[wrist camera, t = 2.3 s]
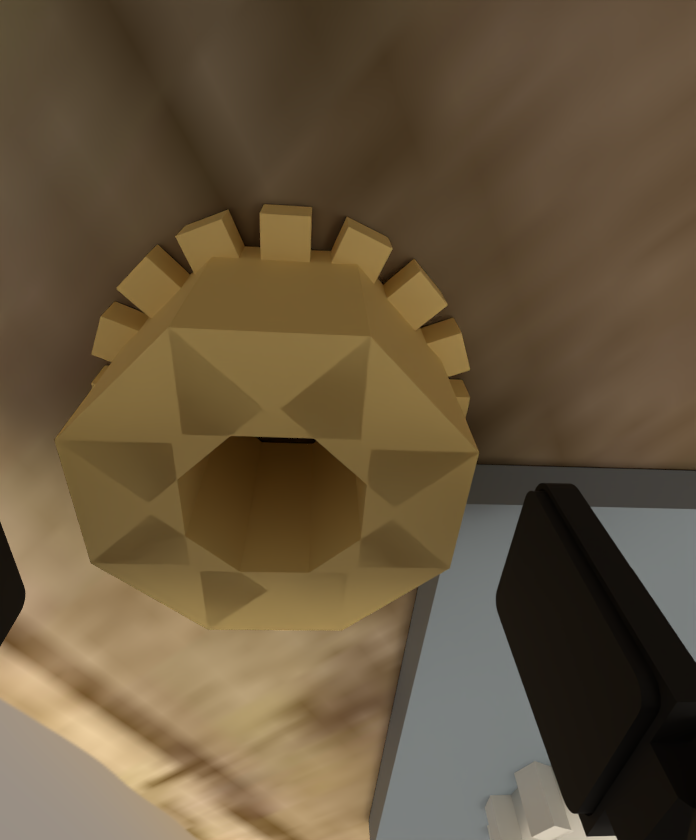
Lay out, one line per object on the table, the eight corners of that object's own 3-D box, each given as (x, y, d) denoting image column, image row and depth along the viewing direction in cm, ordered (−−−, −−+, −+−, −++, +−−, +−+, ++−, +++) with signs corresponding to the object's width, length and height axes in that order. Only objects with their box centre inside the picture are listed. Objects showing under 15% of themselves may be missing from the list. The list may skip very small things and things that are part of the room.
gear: (67, 191, 10) (-71, 254, 6) (496, 218, 10) (581, 289, 7) (136, 514, 14) (76, 653, 11) (432, 520, 14) (465, 653, 11)
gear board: (444, 463, 13) (527, 728, 8) (1012, 479, 14) (1427, 722, 9) (368, 820, 25) (381, 1022, 20) (682, 814, 26) (774, 1004, 21)
